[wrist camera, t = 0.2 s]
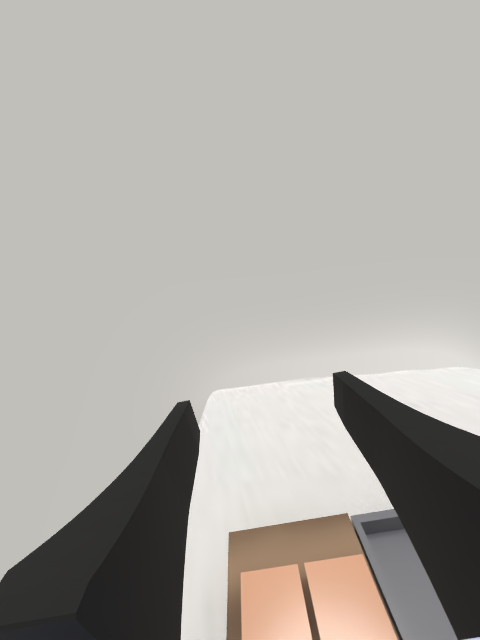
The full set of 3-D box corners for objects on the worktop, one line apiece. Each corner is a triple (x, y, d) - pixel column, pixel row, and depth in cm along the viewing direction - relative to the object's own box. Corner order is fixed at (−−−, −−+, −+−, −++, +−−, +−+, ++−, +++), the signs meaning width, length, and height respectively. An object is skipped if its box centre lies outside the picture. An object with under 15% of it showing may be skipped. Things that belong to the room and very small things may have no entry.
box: (723, 812, 10) (752, 799, 10) (473, 834, 11) (481, 825, 10) (468, 513, 22) (471, 496, 21) (351, 531, 22) (350, 516, 21)
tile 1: (404, 671, 13) (404, 657, 13) (329, 681, 14) (326, 667, 13) (363, 568, 18) (362, 553, 17) (306, 577, 18) (303, 563, 17)
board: (467, 834, 11) (475, 823, 10) (236, 855, 11) (222, 847, 10) (348, 532, 22) (347, 513, 21) (235, 550, 23) (228, 532, 22)
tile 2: (320, 681, 14) (318, 668, 13) (249, 691, 14) (242, 678, 13) (300, 578, 18) (297, 563, 17) (245, 586, 18) (240, 572, 18)
